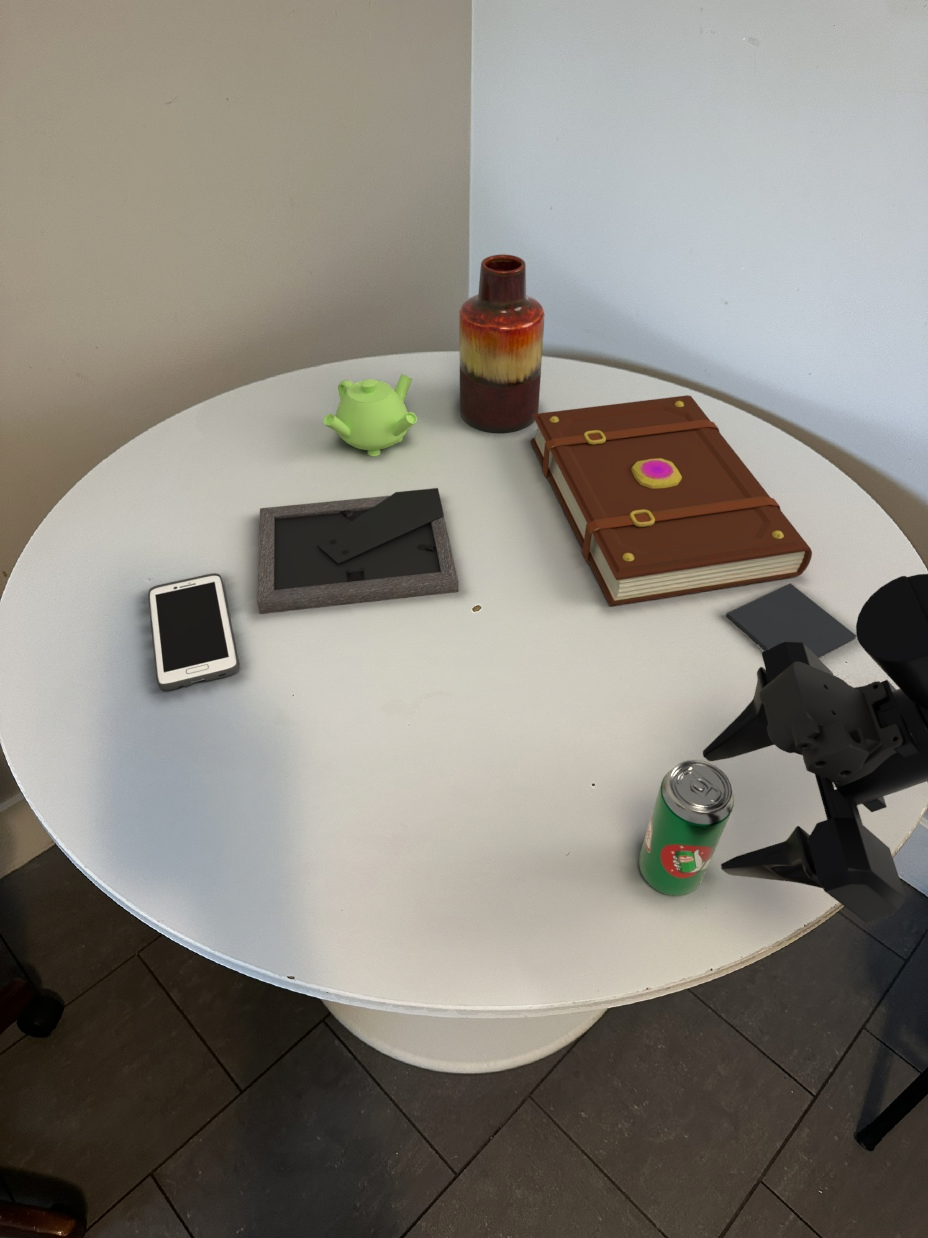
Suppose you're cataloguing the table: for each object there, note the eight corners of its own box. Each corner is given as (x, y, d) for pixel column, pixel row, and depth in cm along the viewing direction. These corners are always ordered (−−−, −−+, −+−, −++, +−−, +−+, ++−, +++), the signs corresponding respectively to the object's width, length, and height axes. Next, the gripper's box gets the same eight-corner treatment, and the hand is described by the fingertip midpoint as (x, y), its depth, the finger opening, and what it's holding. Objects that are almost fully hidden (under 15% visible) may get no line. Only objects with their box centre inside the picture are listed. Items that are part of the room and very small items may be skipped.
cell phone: (159, 694, 78) (156, 687, 77) (149, 593, 87) (146, 586, 87) (241, 674, 79) (239, 667, 79) (222, 577, 89) (220, 570, 88)
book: (607, 607, 86) (613, 572, 82) (528, 442, 107) (530, 409, 104) (806, 576, 89) (820, 540, 85) (690, 422, 111) (697, 388, 107)
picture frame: (438, 501, 99) (262, 518, 96) (438, 487, 97) (259, 505, 95) (458, 591, 88) (259, 613, 85) (458, 577, 86) (256, 600, 84)
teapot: (333, 418, 112) (326, 361, 106) (417, 415, 112) (414, 358, 106) (329, 465, 104) (320, 407, 98) (419, 462, 104) (416, 403, 98)
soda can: (659, 829, 67) (686, 743, 59) (714, 865, 65) (751, 781, 57) (625, 872, 65) (649, 788, 56) (681, 912, 62) (715, 831, 54)
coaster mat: (789, 586, 88) (790, 582, 87) (855, 639, 82) (856, 635, 82) (726, 616, 85) (727, 612, 84) (790, 673, 79) (791, 669, 79)
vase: (554, 414, 112) (567, 264, 98) (494, 442, 107) (498, 289, 93) (502, 383, 118) (507, 238, 103) (444, 409, 113) (440, 260, 99)
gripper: (834, 551, 53) (636, 656, 61) (928, 801, 40) (660, 891, 48) (910, 640, 58) (718, 725, 66) (1016, 887, 45) (761, 955, 53)
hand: (714, 810), depth 58 cm, fingers open, 9 cm apart
